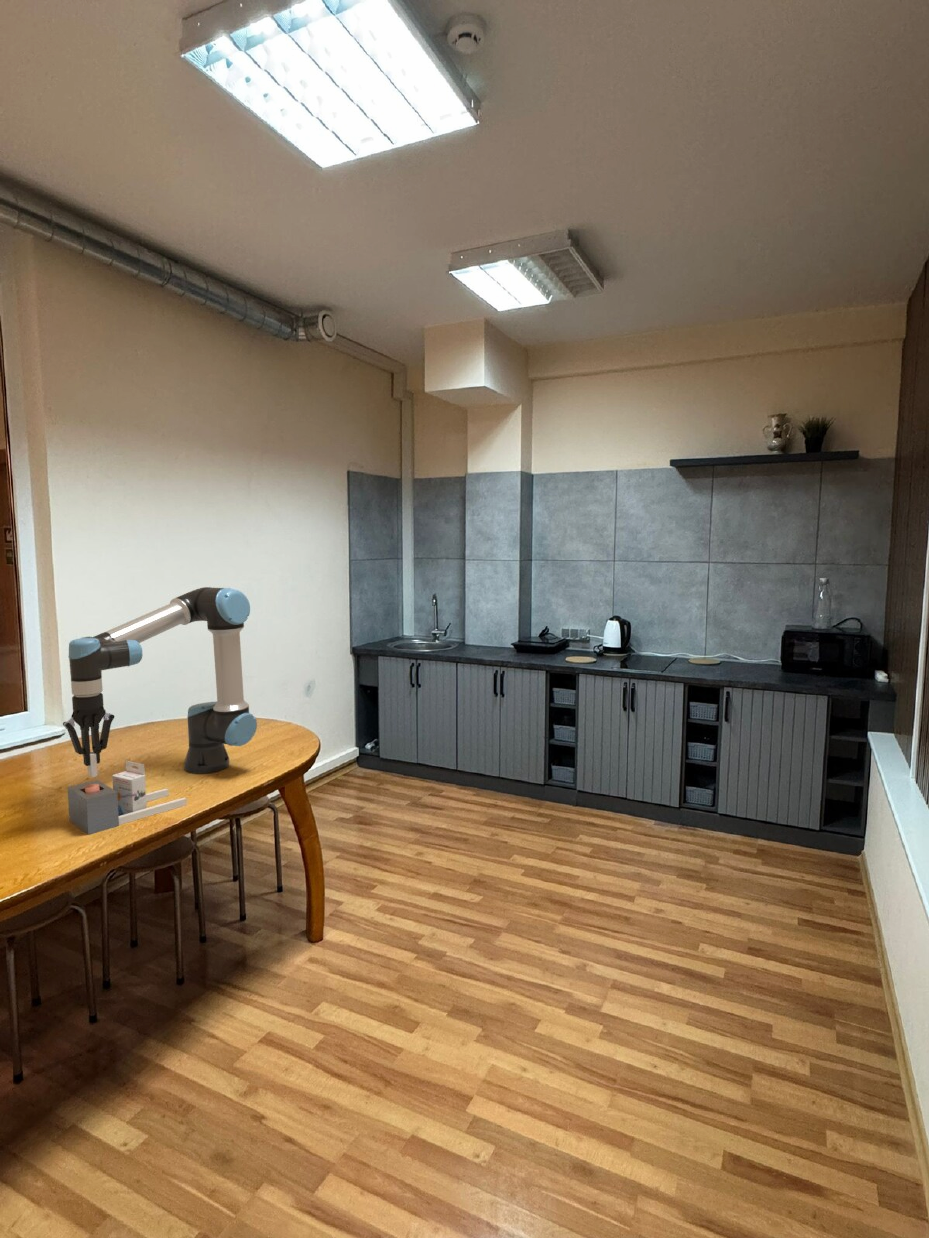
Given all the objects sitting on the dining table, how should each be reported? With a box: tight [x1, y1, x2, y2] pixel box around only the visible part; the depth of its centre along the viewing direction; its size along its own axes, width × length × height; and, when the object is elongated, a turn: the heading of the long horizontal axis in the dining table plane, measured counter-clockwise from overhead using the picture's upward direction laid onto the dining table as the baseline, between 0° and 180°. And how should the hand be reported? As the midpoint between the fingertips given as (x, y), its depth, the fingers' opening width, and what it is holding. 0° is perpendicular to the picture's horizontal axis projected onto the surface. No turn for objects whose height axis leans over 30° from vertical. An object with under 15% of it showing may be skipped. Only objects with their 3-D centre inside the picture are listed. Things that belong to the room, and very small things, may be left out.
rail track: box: [119, 788, 188, 826], centre depth 200 cm, size 20×13×2 cm, turn 139°
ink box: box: [111, 760, 148, 816], centre depth 196 cm, size 8×5×15 cm, turn 65°
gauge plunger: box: [85, 784, 100, 794], centre depth 189 cm, size 4×4×5 cm
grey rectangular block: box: [67, 779, 120, 836], centre depth 189 cm, size 8×14×10 cm, turn 49°
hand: (92, 775), depth 189 cm, fingers closed
